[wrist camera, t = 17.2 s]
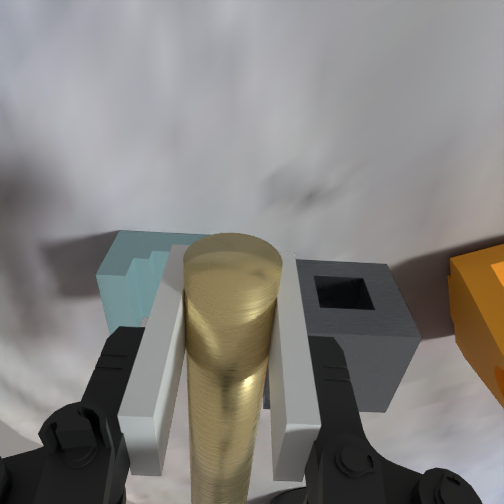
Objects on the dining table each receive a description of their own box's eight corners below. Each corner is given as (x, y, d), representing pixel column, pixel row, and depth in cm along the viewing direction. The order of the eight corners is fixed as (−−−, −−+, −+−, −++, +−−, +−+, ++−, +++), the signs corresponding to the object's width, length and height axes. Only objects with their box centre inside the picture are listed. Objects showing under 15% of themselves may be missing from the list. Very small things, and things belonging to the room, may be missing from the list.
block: (341, 395, 42) (357, 469, 36) (262, 392, 42) (264, 466, 35) (386, 264, 31) (422, 337, 25) (280, 258, 31) (287, 331, 24)
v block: (242, 292, 33) (240, 340, 29) (129, 287, 33) (110, 335, 28) (245, 237, 30) (244, 281, 25) (119, 230, 29) (95, 274, 25)
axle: (245, 487, 22) (242, 546, 20) (196, 482, 22) (187, 542, 20) (281, 237, 12) (283, 295, 10) (193, 228, 12) (172, 285, 10)
